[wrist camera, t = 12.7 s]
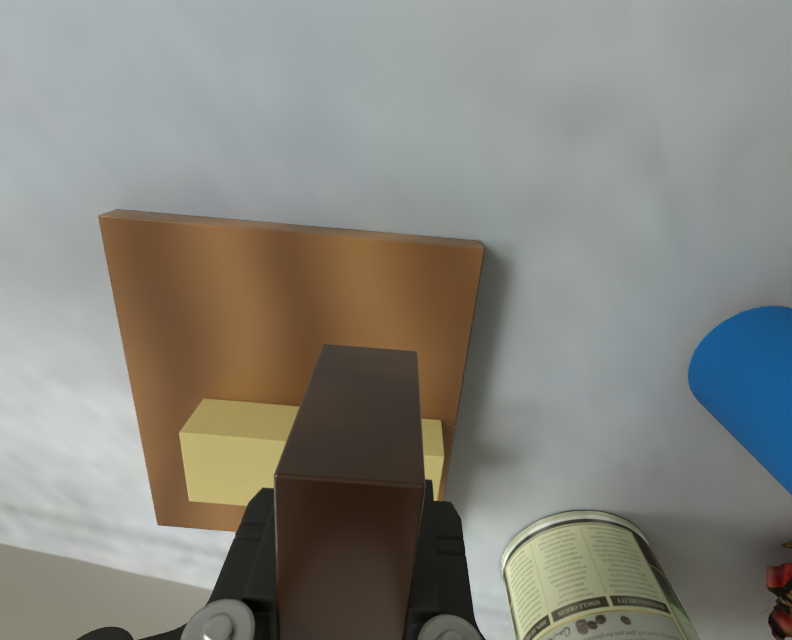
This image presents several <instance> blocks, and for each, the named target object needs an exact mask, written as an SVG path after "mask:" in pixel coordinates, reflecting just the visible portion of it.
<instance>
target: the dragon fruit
mask: <svg viewBox="0 0 792 640" xmlns="http://www.w3.org/2000/svg"><path fill="white" fill-rule="evenodd" d="M781 546H783V547H789V548H792V541H791V542H788V543H786V544H783V545H781ZM766 579H767V580H766V587H767V588H768V590H769V591H770V592H772V593H774V594H775V595H776V596H777V597H778V598H777V600H776V601H775V602H776V603H777V604H778V605H776V606H775V607H773V608H774V610H773V611H772V612H771V613H770V615H769V619H768V623H769V626H770V628H771V629H772V630H771V631H772V634H773V636H774V637H775V639H776V640H785V637H792V563H785V564H782V565H780V566H778V567H777V566H767V578H766ZM767 611H768V610H767Z"/></svg>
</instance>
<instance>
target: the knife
mask: <svg viewBox="0 0 792 640" xmlns="http://www.w3.org/2000/svg"><path fill="white" fill-rule="evenodd" d="M425 488H426V484H425V468H424V453H423V437H422V421H421V405H420V389H419V373H418V357H417V352H416V351H407V350H395V349H382V348H369V347H357V346H344V345H332V344H324V345H323V346H322V348H321V351H320V354H319V356H318V359H317V362H316V364H315V367H314V370H313V372H312V375H311V378H310V380H309V383H308V385H307V388H306V391H305V393H304V396H303V399H302V401H301V404H300V407H299V409H298V412H297V415H296V417H295V420H294V423H293V425H292V428H291V431H290V433H289V436H288V438H287V441H286V444H285V446H284V449H283V452H282V454H281V457H280V460H279V462H278V465H277V468H276V470H275V473H274V513H275V549H276V586H277V621H278V640H405V635H406V627H407V618H408V610H409V606H410V599H411V592H412V584H413V577H414V569H415V562H416V555H417V547H418V540H419V532H420V525H421V518H422V510H423V503H424V495H425Z"/></svg>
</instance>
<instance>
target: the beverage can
mask: <svg viewBox="0 0 792 640" xmlns="http://www.w3.org/2000/svg"><path fill="white" fill-rule="evenodd" d="M688 383H689V386H690V389H691V391H692V393H693V395H694V396H695V397H696V399H697V400H698V401H699V402H700V403H701V404H702V405H703V406H704V407H705V408H706V409H707V410H708V411H709V412H710V413H711V414H712V415H713V416H714V417H715V418H716V419H717V420H718V421H719V422H720V423H721V424H722V425H723V426H724V427H725V428H726V429H727V430H728V431H729V432H730V433H731V434H732V435H733V436H734V437H735V438H736V439H737V440H738V441H739V442H740V443H741V444H742V445H743V446H744V447H745V448H746V449H747V450H748V451H749V452H750V453H751V454H752V455H753V456H754V457H755V458H756V459H757V460H758V461H759V462H760V463H761V464H762V465H763V466H764V467H765V468H766V469H767V470H768V471H769V473H770V474H771V475H772V476H773V477H774V478H775V479H776V480H777V481H778V482H779V483H780V484H781V485H782V486H783V487H784V488H785V489H786V490H787V491H788V492H789V493H790V494H791V495H792V309H791V308H788V307H782V306H761V307H756V308H751V309H748V310H744V311H742V312H739V313H737V314H734V315H732V316H730V317H729V318H727V319H725V320H723V321H722V322H720V323H719V324H717V325H716V326H715V327H714V328H713V329H711V330H710V331H709V332H708V333H707V334H706V335H705V336H704V337H703V339H702V340H701V341H700V342H699V344H698V345H697V347H696V348H695V350H694V352H693V354H692V356H691V359H690V362H689V366H688Z"/></svg>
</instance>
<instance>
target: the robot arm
mask: <svg viewBox="0 0 792 640" xmlns="http://www.w3.org/2000/svg"><path fill="white" fill-rule="evenodd" d="M425 484H426V488H425V495H424V503H423V510H422V518H421V525H420V532H419V540H418V547H417V555H416V562H415V569H414V577H413V584H412V592H411V599H410V606H409V610H408V618H407V627H406V635H405V640H486V639H485V638H484V637H483V635H482V634H481V632H480V630H479V628H478V626H477V624H476V621H475V617H474V612H473V605H472V597H471V590H470V583H469V575H468V568H467V561H466V556H465V546H464V541H463V531H462V524H461V518H460V516H459V515H458V513H457V511H456V510H455V508H454V506H453V505H452V503H451V502H446V501H434V495H433V483H432V480H428V479H425ZM77 640H133V638H132V636H131V635H130V633H129V632H127V631H126V630H124V629H122V628H118V627H104V628H100V629H96V630H94V631H91V632H89V633H87V634H85V635H83V636H82V637H80V638H78V639H77ZM139 640H278V621H277V586H276V549H275V513H274V488H262V489H261V490H260V491H259V492H258V493H257V494H256V495H255V496H254V497H253V498H252V499H251V500H250V501H249V502H248V505H247V507H246V510H245V512H244V515H243V517H242V520H241V524H240V525H239V527H238V530H237V532H236V535H235V539H234V540H233V542H232V545H231V547H230V550H229V552H228V555H227V557H226V560H225V562H224V565H223V567H222V570H221V572H220V575H219V577H218V580H217V582H216V585H215V587H214V590H213V592H212V595H211V597H210V599H209V601H208V602H207V604H206V605H205V606H204V607H203V608H201V609H200V610H199V611H198V612H196V613H195V614H194V615H193V616H192V618H191V619H190V620H189V622H188V623H186V624H185V625H183V626H181V627H179V628H177V629H175V630H172V631H169V632H166V633H162V634H158V635H155V636H151V637H147V638H143V639H139Z"/></svg>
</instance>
